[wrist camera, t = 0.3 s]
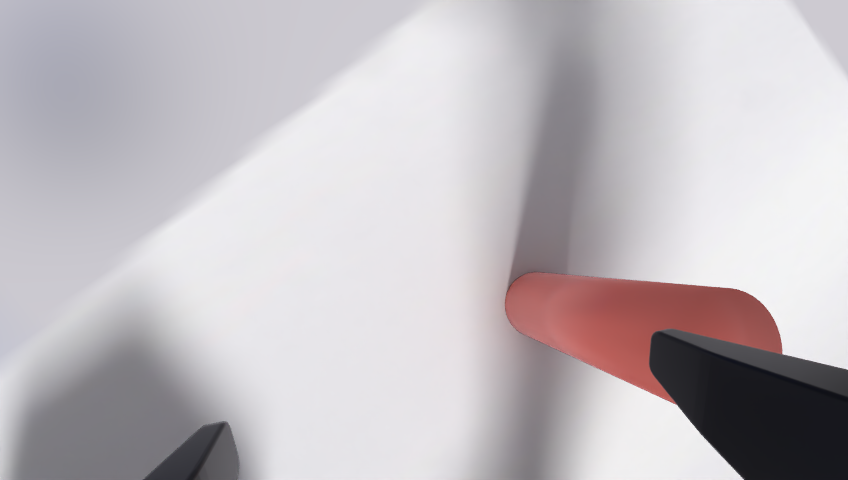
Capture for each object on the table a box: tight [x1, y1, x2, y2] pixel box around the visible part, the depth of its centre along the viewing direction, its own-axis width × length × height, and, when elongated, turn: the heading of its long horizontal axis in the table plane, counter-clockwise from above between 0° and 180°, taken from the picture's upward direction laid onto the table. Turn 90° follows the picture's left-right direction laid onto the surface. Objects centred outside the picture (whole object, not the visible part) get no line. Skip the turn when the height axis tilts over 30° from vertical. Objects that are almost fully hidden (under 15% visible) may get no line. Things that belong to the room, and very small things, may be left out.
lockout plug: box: [505, 272, 782, 405], centre depth 18 cm, size 4×4×13 cm
